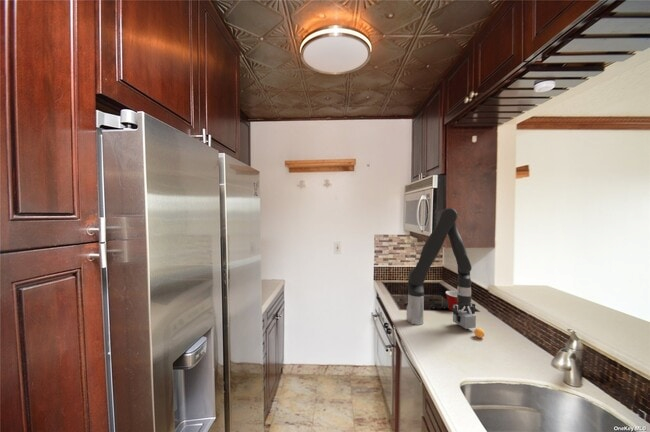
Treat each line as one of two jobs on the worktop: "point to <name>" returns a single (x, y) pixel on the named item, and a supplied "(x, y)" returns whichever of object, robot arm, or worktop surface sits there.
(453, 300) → the plastic cup
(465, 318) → the grey rectangular brick
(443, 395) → the worktop surface
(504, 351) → the worktop surface
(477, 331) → the ball
